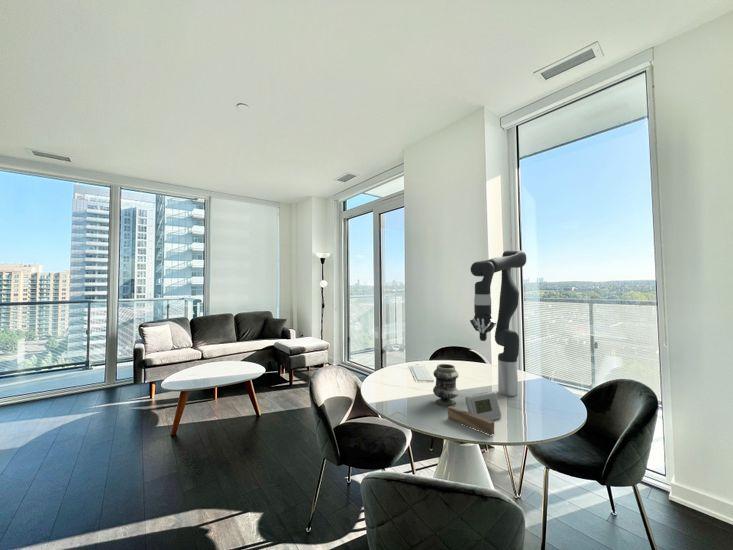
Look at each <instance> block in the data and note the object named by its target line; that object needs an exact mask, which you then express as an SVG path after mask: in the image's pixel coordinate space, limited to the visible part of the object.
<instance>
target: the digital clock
mask: <svg viewBox="0 0 733 550" xmlns="http://www.w3.org/2000/svg"><path fill="white" fill-rule="evenodd" d="M465 403H466V407H467V410H468V411H467V412H469V413H472V414H475V415H477V416H480V417H483V418H486V419H488V420H491V421H492V420H493V421H496V420H499V419H501V418H502V413H501V409H500V404H499V401H498V396H497V394H496V392H495V391H490V392H489V391H488V392H487V391H486V392H482V393H477V394H472V395H468V396H466V397H465Z"/></svg>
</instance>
